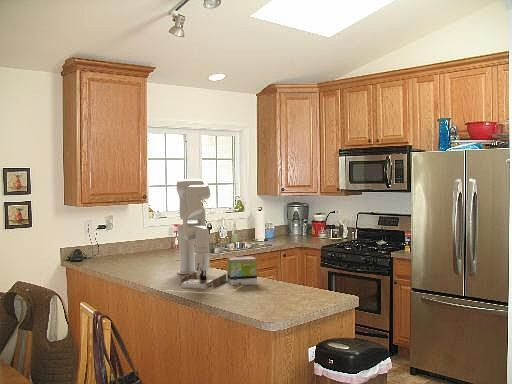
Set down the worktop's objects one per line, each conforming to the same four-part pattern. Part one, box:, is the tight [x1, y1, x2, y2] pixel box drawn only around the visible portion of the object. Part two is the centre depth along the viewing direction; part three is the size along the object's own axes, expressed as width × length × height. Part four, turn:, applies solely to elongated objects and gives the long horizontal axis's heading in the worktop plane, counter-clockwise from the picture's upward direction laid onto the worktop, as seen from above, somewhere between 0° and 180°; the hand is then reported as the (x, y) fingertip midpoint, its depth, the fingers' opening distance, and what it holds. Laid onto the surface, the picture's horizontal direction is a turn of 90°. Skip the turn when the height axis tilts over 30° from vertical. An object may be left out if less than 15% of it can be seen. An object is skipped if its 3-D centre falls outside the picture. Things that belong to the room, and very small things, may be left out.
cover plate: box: [181, 279, 213, 290], centre depth 297 cm, size 10×14×2 cm
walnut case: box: [180, 272, 227, 288], centre depth 305 cm, size 17×20×5 cm
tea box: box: [226, 256, 258, 286], centre depth 305 cm, size 15×10×15 cm, turn 105°
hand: (203, 282), depth 304 cm, fingers closed
